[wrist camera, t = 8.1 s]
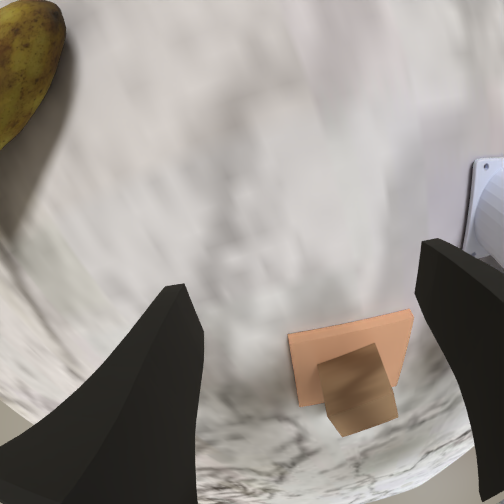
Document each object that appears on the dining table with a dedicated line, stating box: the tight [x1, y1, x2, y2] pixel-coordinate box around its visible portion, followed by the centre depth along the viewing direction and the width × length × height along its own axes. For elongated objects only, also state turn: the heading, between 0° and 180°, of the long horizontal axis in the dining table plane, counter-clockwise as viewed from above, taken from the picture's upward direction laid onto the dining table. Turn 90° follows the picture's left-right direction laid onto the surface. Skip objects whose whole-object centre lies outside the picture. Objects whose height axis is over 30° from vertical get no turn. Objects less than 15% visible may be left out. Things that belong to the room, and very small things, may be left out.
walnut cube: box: [317, 343, 398, 437], centre depth 23 cm, size 5×5×5 cm
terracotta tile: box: [288, 309, 414, 407], centre depth 25 cm, size 10×10×1 cm
